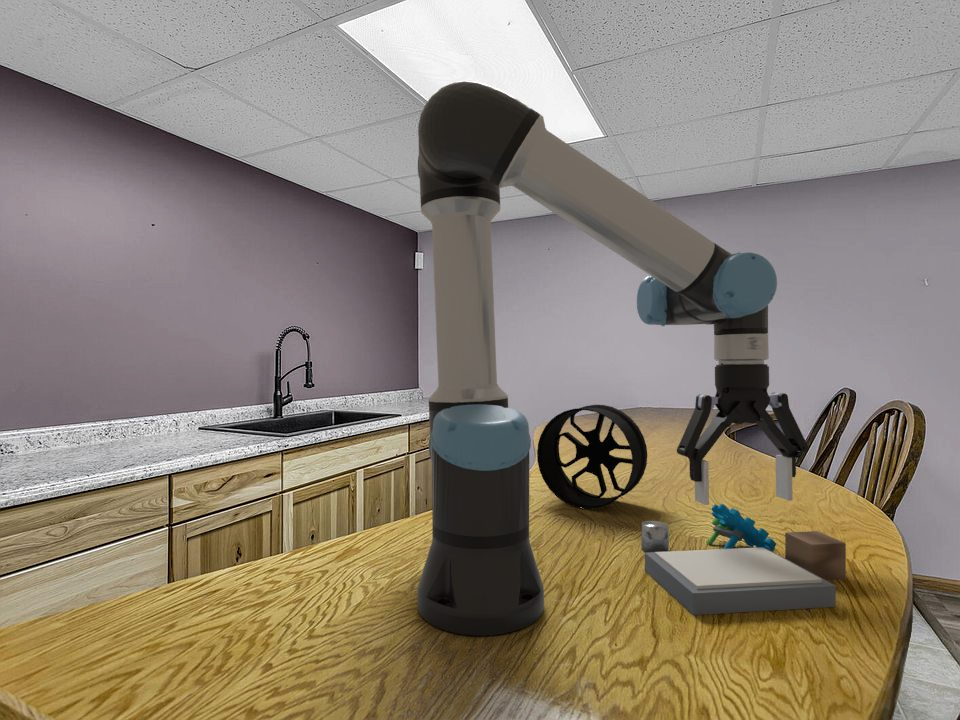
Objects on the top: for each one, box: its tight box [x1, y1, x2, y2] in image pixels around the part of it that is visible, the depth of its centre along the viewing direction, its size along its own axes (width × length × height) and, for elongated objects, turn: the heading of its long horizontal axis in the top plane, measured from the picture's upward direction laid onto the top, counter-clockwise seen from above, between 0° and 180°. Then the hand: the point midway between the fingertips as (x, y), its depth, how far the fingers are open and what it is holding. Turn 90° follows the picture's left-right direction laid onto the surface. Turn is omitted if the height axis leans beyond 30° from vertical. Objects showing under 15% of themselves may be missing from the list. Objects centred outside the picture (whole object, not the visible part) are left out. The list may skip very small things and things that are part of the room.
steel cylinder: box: [640, 520, 670, 554], centre depth 82 cm, size 4×4×4 cm
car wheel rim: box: [536, 404, 648, 511], centre depth 108 cm, size 20×10×20 cm, turn 58°
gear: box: [706, 503, 777, 552], centre depth 81 cm, size 11×6×10 cm
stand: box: [644, 547, 837, 616], centre depth 68 cm, size 18×13×3 cm
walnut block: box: [784, 530, 847, 582], centre depth 73 cm, size 5×5×5 cm
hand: (743, 500), depth 81 cm, fingers open, 13 cm apart
